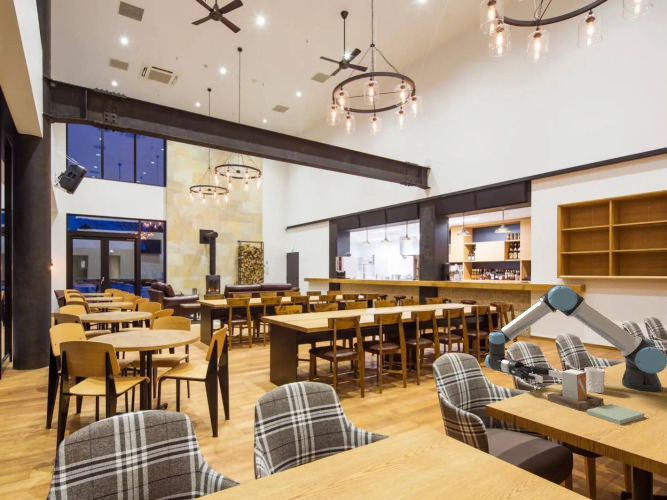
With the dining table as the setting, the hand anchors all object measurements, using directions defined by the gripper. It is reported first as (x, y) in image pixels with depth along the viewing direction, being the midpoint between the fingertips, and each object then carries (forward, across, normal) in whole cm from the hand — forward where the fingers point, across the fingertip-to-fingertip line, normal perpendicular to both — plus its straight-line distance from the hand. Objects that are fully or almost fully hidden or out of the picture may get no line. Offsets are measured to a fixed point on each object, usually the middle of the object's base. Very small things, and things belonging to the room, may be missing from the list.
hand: (552, 377), depth 177 cm
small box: (+10, 0, -8) cm, 13 cm away
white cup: (+4, -24, -8) cm, 26 cm away
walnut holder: (+10, 0, -8) cm, 13 cm away
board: (+26, +1, -8) cm, 28 cm away
